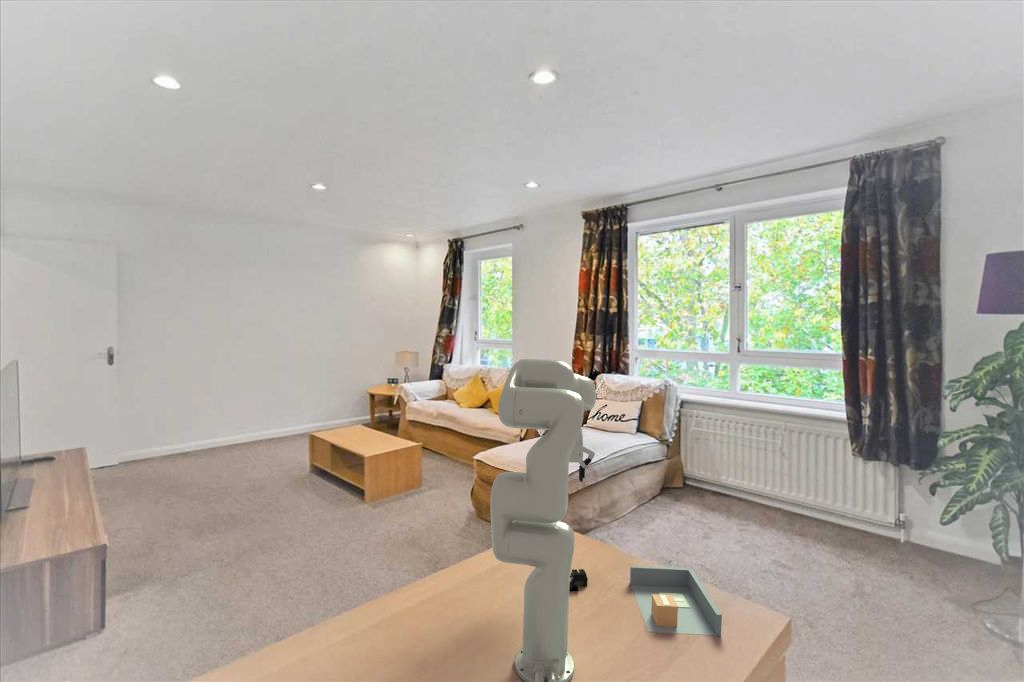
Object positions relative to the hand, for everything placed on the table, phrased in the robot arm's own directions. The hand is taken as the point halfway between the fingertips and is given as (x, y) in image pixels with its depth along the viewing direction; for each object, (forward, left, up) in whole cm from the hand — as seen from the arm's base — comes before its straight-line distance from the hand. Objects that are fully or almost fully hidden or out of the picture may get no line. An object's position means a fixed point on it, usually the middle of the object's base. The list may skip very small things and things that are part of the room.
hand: (564, 479), depth 142 cm
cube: (-22, -24, -27) cm, 42 cm away
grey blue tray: (-16, -28, -28) cm, 42 cm away
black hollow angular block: (-6, -4, -29) cm, 30 cm away
